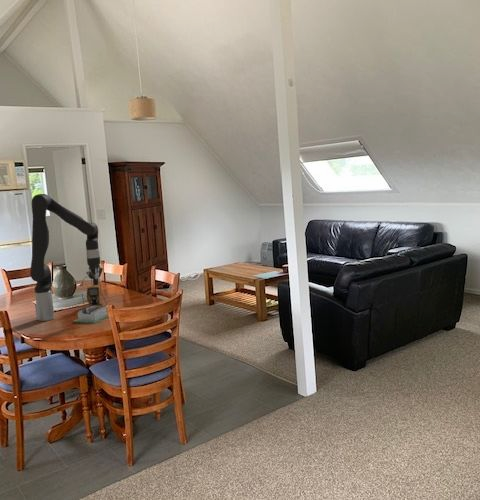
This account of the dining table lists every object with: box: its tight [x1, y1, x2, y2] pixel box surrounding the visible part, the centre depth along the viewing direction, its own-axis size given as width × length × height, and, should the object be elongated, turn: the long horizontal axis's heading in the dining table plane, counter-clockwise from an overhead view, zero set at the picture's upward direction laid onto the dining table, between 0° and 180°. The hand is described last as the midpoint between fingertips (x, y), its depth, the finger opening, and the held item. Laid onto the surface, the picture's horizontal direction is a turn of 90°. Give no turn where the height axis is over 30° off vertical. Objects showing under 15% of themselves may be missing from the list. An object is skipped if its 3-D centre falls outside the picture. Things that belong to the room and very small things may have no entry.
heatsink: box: [72, 303, 109, 324], centre depth 296 cm, size 16×19×7 cm
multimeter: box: [81, 276, 108, 307], centre depth 319 cm, size 15×10×20 cm
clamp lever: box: [85, 305, 101, 313], centre depth 295 cm, size 12×3×2 cm, turn 159°
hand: (96, 285), depth 296 cm, fingers closed
